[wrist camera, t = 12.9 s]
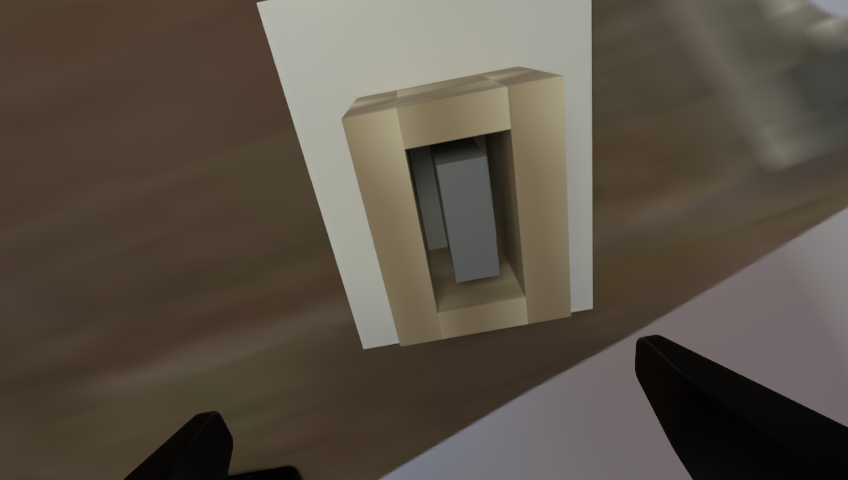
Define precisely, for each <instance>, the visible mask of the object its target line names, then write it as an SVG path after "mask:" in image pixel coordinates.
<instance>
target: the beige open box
mask: <svg viewBox="0 0 848 480" xmlns="http://www.w3.org/2000/svg"><path fill="white" fill-rule="evenodd" d="M341 120H342V124H343V127H344V131H345V135H346V139H347V143H348V147H349V151H350V154H351V158H352V162H353V166H354V170H355V174H356V177H357V181H358V185H359V189H360V193H361V197H362V201H363V204H364V208H365V212H366V216H367V220H368V224H369V228H370V231H371V235H372V239H373V243H374V247H375V251H376V255H377V258H378V262H379V266H380V270H381V274H382V278H383V282H384V285H385V289H386V293H387V297H388V301H389V305H390V309H391V312H392V316H393V320H394V324H395V328H396V332H397V336H398V339H399V343H400V347H401V346H407V345H413V344H418V343H424V342H430V341H435V340H441V339H447V338H452V337H458V336H464V335H469V334H475V333H480V332H486V331H492V330H497V329H503V328H509V327H514V326H520V325H526V324H531V323H537V322H543V321H548V320H554V319H559V318H565V317H571V296H570V264H569V233H568V202H567V170H566V139H565V108H564V76H563V75H558V74H553V73H549V72H544V71H539V70H534V69H529V68H525V67H520V66H517V67H511V68H506V69H501V70H496V71H491V72H486V73H481V74H476V75H471V76H466V77H460V78H455V79H450V80H445V81H440V82H435V83H430V84H425V85H420V86H415V87H410V88H404V89H399V90H394V91H389V92H384V93H379V94H374V95H369V96H364V97H359V98H357V99H356V100H355V102H354V103H353V104H352V106H351V107H350V108H349V109H348V111H347V112H346V113H345V115H344V116H343V117H342V119H341ZM482 134H485V142H486V150H487V159H488V168H489V176H490V185H491V194H492V202H493V211H494V220H495V228H496V237H497V238H496V243H497V252H498V261H499V269H500V275H497V276H492V277H486V278H481V279H475V280H470V281H464V282H459V283H456V279H455V275H454V271H453V266H452V262H451V258H450V253H449V249H448V247H444V248H438V249H433V250H429V249H428V243H427V238H426V233H425V228H424V223H423V218H422V213H421V208H420V203H419V198H418V193H417V187H416V182H415V177H414V172H413V167H412V162H411V157H410V152H409V148H415V147H420V146H425V145H430V144H435V143H441V142H446V141H451V140H456V139H462V138H467V137H472V136H477V135H482Z"/></svg>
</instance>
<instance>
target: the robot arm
mask: <svg viewBox="0 0 848 480" xmlns="http://www.w3.org/2000/svg"><path fill="white" fill-rule="evenodd" d="M635 372H636V376H637V378H638V381H639V382H640V384H641V386H642V388H643V390H644V392H645V394H646V396H647V398H648V400H649V402H650V404H651V406H652V408H653V410H654V412H655V414H656V416H657V418H658V420H659V422H660V424H661V426H662V428H663V430H664V432H665V434H666V436H667V438H668V440H669V441H670V443H671V445H672V447H673V449H674V450H675V452H676V454H677V455H678V457H679V459H680V460H681V462H682V463H683V465H684V467H685V468H686V470H687V471H688V472H689V474H690V476H691V477H692V479H693V480H848V427H846V426H844V425H842V424H840V423H838V422H836V421H834V420H832V419H830V418H828V417H826V416H824V415H822V414H820V413H818V412H816V411H814V410H811V409H809V408H807V407H805V406H803V405H801V404H799V403H797V402H795V401H793V400H791V399H789V398H787V397H785V396H783V395H781V394H779V393H777V392H775V391H773V390H771V389H769V388H767V387H765V386H763V385H761V384H758V383H756V382H754V381H752V380H750V379H748V378H746V377H744V376H742V375H740V374H738V373H736V372H734V371H732V370H730V369H728V368H726V367H724V366H722V365H720V364H718V363H716V362H714V361H711V360H709V359H707V358H705V357H703V356H701V355H699V354H697V353H695V352H693V351H691V350H689V349H687V348H685V347H683V346H681V345H679V344H677V343H675V342H673V341H671V340H668V339H667V338H665V337H662V336H660V335H651V336H645V337H640V338H639V339H638V340H637V343H636V356H635ZM232 451H233V438H232V435H231V433H230V431H229V430H228V428H227V426H226V424H225V422H224V420H223V418H222V416H221V415H220V413H218V412H217V411H211V412H205V413H200V414H197V415H195V416H194V417H193V418H192V419H191V420H190V421H188V422H187V423H186V424H185V425H184V426H183V427H182V428H181V429H179V430H178V431H177V432H176V433H175V434H174V435H173V436H172V437H171V438H169V439H168V440H167V441H166V442H165V443H164V444H163V445H162V446H160V447H159V448H158V449H157V450H156V451H155V452H154V453H153V454H152V455H150V456H149V457H148V458H147V459H146V460H145V461H144V462H143V463H141V464H140V465H139V466H138V467H137V468H136V469H135V470H134V471H133V472H131V473H130V474H129V475H128V476H127V477H126V478H125V479H124V480H300V479H299V477H298V475H297V473H296V471H295V470H294V469H293V468H289V467H286V468H280V469H274V470H268V471H262V472H256V473H250V474H245V475H239V476H233V477H227V475H228V470H229V466H230V461H231V456H232Z"/></svg>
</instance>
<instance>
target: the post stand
mask: <svg viewBox="0 0 848 480" xmlns="http://www.w3.org/2000/svg"><path fill="white" fill-rule="evenodd" d="M257 6H258V9H259V13H260V16H261V19H262V22H263V26H264V29H265V32H266V35H267V38H268V42H269V45H270V48H271V51H272V55H273V58H274V61H275V64H276V68H277V71H278V74H279V77H280V80H281V84H282V87H283V90H284V93H285V97H286V100H287V103H288V106H289V110H290V113H291V116H292V119H293V123H294V126H295V129H296V132H297V135H298V139H299V142H300V145H301V148H302V152H303V155H304V158H305V161H306V165H307V168H308V171H309V174H310V177H311V181H312V184H313V187H314V190H315V194H316V197H317V200H318V203H319V207H320V210H321V213H322V216H323V220H324V223H325V226H326V229H327V232H328V236H329V239H330V242H331V245H332V249H333V252H334V255H335V258H336V262H337V265H338V268H339V271H340V274H341V278H342V281H343V284H344V287H345V291H346V294H347V297H348V300H349V304H350V307H351V310H352V313H353V317H354V320H355V323H356V326H357V329H358V333H359V336H360V339H361V342H362V346H363V349H368V348H374V347H380V346H385V345H391V344H397V343H399V339H398V336H397V332H396V328H395V324H394V320H393V316H392V312H391V309H390V305H389V301H388V297H387V293H386V289H385V285H384V282H383V278H382V274H381V270H380V266H379V262H378V258H377V255H376V251H375V247H374V243H373V239H372V235H371V231H370V228H369V224H368V220H367V216H366V212H365V208H364V204H363V201H362V197H361V193H360V189H359V185H358V181H357V177H356V174H355V170H354V166H353V162H352V158H351V154H350V151H349V147H348V143H347V139H346V135H345V131H344V127H343V124H342V120H341V119H342V117H343V116H344V115H345V113H346V112H347V111H348V109H349V108H350V107H351V106H352V104H353V103H354V102H355V100H356V99H357V98H359V97H364V96H369V95H374V94H379V93H384V92H389V91H394V90H399V89H404V88H410V87H415V86H420V85H425V84H430V83H435V82H440V81H445V80H450V79H455V78H460V77H466V76H471V75H476V74H481V73H486V72H491V71H496V70H501V69H506V68H511V67H517V66H520V67H525V68H529V69H534V70H539V71H544V72H549V73H553V74H558V75H563V76H564V108H565V139H566V170H567V202H568V233H569V264H570V296H571V312H577V311H582V310H588V309H593V261H592V35H591V0H268V1H263V2H258V3H257ZM409 152H410V157H411V162H412V167H413V172H414V177H415V182H416V187H417V193H418V198H419V203H420V208H421V213H422V218H423V223H424V228H425V233H426V238H427V243H428V249H429V250H433V249H438V248H444V247H448V249H449V253H450V258H451V262H452V266H453V271H454V275H455V279H456V283H459V282H464V281H470V280H475V279H481V278H486V277H492V276H497V275H500V269H499V261H498V252H497V243H496V238H497V237H496V228H495V220H494V211H493V202H492V194H491V185H490V176H489V168H488V159H487V150H486V142H485V134H482V135H477V136H472V137H467V138H462V139H456V140H451V141H446V142H441V143H435V144H430V145H425V146H420V147H415V148H409Z"/></svg>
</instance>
